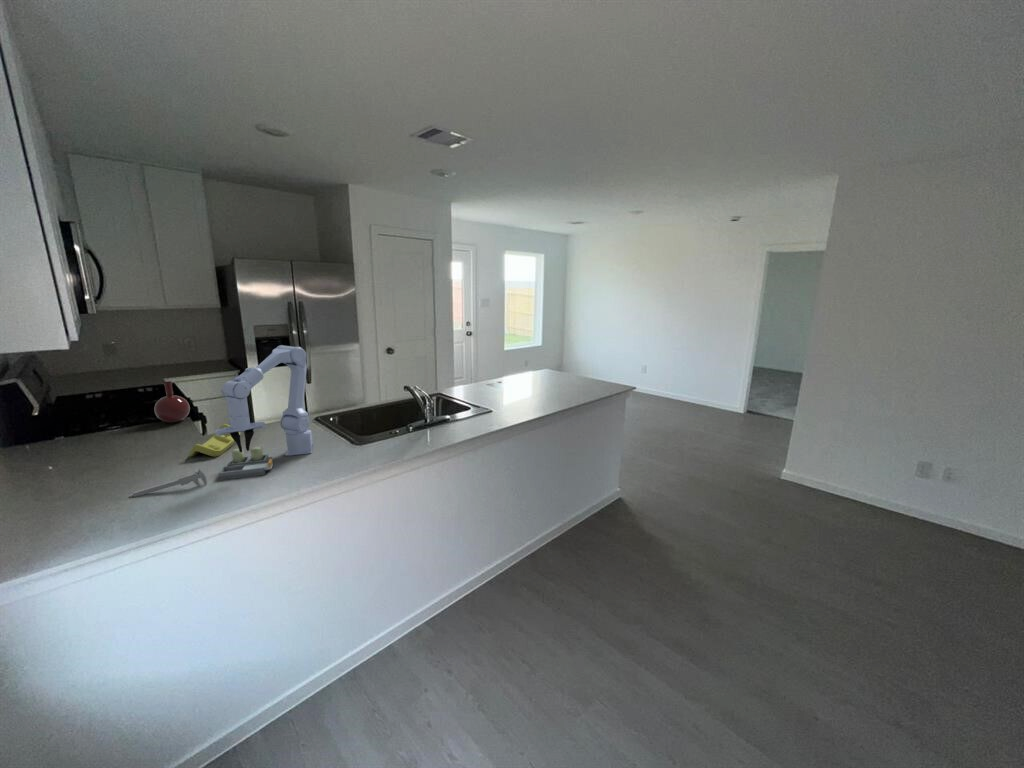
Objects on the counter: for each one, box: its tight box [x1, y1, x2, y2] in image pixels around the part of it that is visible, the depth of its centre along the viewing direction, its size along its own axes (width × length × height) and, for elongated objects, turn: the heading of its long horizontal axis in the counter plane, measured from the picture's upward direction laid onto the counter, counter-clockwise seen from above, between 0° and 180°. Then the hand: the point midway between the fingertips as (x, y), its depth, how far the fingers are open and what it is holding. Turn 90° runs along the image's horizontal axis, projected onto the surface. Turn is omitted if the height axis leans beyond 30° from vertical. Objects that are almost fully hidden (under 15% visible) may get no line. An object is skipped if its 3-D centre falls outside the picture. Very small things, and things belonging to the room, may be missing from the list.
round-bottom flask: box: [153, 380, 191, 423], centre depth 192 cm, size 13×13×20 cm
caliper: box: [128, 468, 208, 498], centre depth 132 cm, size 20×1×6 cm, turn 117°
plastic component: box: [188, 423, 241, 457], centre depth 166 cm, size 20×7×10 cm
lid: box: [242, 458, 274, 471], centre depth 146 cm, size 9×4×3 cm, turn 110°
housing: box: [218, 446, 273, 480], centre depth 148 cm, size 14×13×7 cm
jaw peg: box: [231, 447, 245, 463], centre depth 150 cm, size 4×4×6 cm
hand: (244, 450), depth 143 cm, fingers closed
